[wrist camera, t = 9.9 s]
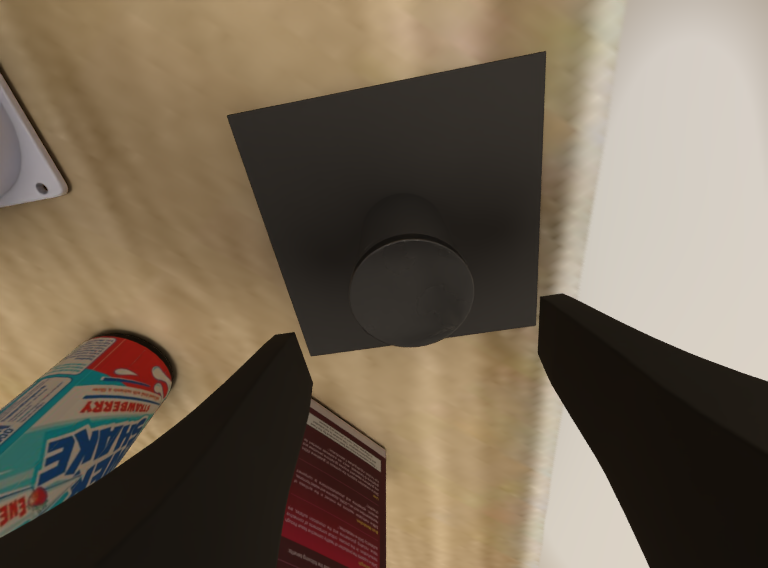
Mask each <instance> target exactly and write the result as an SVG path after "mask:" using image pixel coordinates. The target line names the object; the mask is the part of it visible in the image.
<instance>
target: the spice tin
mask: <svg viewBox="0 0 768 568" xmlns="http://www.w3.org/2000/svg"><path fill="white" fill-rule="evenodd" d="M473 298H474V284H473V279H472V276H471V273H470V271H469V269H468V267H467V265H466V263H465V261H464V259H463V258H462V256H461V255H460V253H459V251H458V249H457V247H456V245H455V243H454V241H453V239H452V236H451V234H450V232H449V230H448V228H447V226H446V224H445V222H444V220H443V218H442V215H441V213H440V212H439V210H438V209H437V208H436V207H435V206H434V205H433V204H432V203H431V202H430V201H428V200H427V199H425V198H423V197H421V196H418V195H415V194H410V193H399V194H394V195H390V196H387V197H385V198H383V199H381V200H380V201H378V202H377V203H376V204H375V205H374V206H373V207H372V208H371V209H370V210H369V211H368V213H367V214H366V216H365V218H364V221H363V224H362V228H361V234H360V239H359V245H358V250H357V256H356V261H355V267H354V271H353V273H352V277H351V281H350V287H349V302H350V307H351V310H352V313H353V315H354V317H355V319H356V320H357V322H358V323H359V325H360V326H361V327H362V328H363V329H364V330H365V331H366V332H367V333H368V334H370V335H371V336H372V337H374V338H376V339H377V340H379V341H381V342H384V343H387V344H389V345H394V346H399V347H420V346H425V345H429V344H433V343H435V342H438V341H440V340H442V339H444V338H446V337H447V336H449V335H450V334H452V333H453V332H454V331H455V330H456V329H457V328H458V327H459V326H460V325H461V324H462V323H463V322H464V320H465V319H466V317H467V316H468V313H469V311H470V309H471V306H472V303H473Z"/></svg>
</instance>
